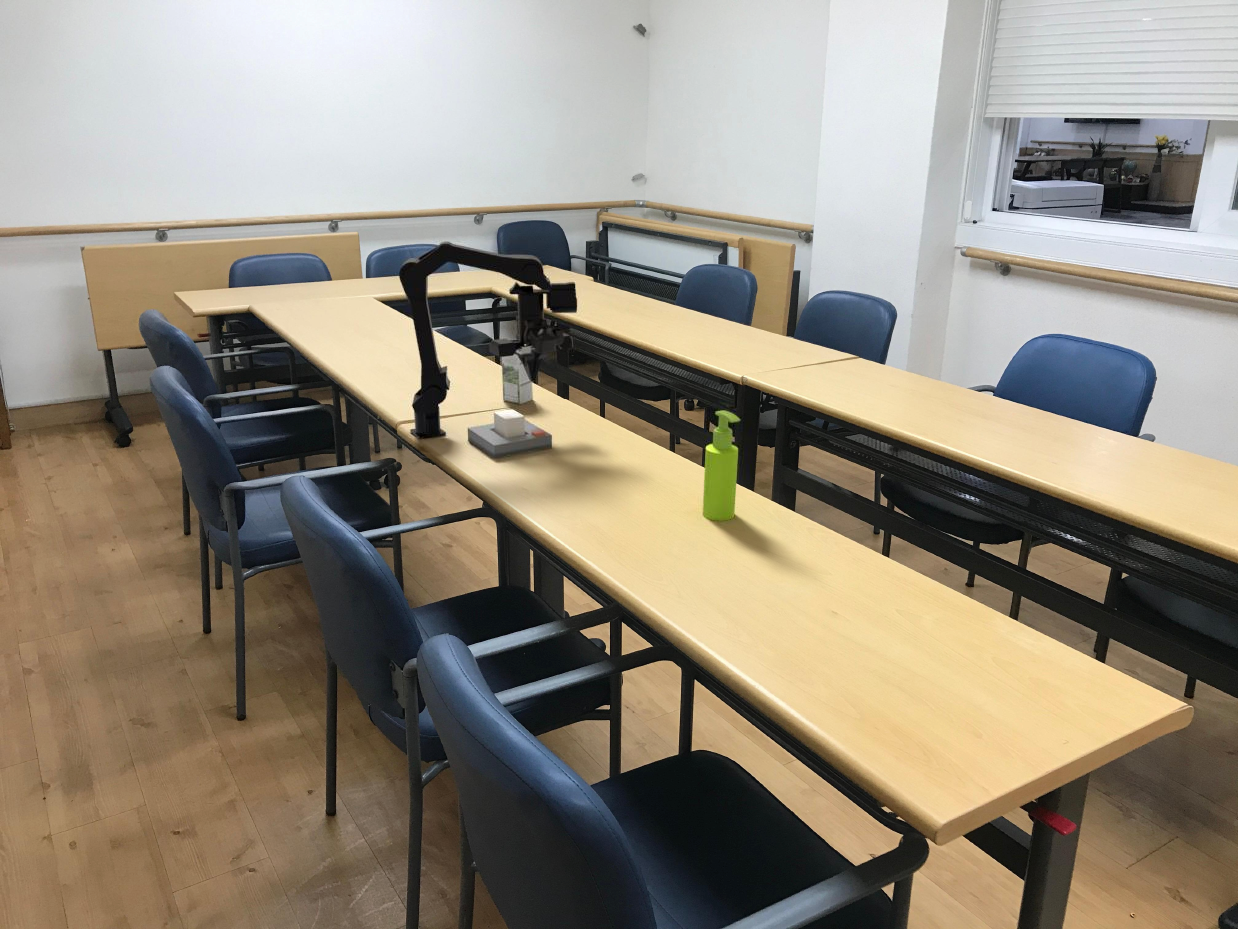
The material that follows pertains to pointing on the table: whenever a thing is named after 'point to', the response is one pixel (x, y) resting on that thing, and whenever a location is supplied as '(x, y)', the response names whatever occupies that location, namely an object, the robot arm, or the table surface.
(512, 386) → the syrup box
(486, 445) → the socket
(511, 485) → the table surface
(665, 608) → the table surface
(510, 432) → the plug
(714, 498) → the soap dispenser
